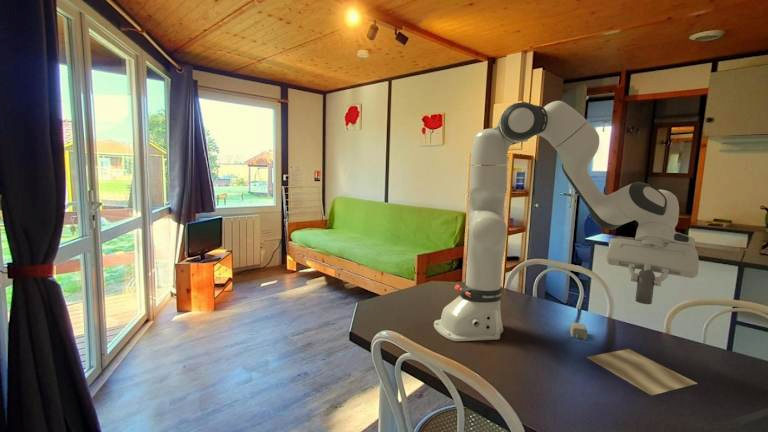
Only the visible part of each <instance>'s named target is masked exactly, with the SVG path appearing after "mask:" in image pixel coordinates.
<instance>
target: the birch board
mask: <svg viewBox="0 0 768 432" xmlns="http://www.w3.org/2000/svg"><path fill="white" fill-rule="evenodd" d="M586 358H587V359H588V360H590V361H592V362H594V363H596V364H597V365H599V366H600V367H602V368H604V369H605V370H607V371H609V372H610V373H612V374H614V375H616V376H617V377H619V378H620V379H622V380H623V381H626V382H628V383H629V384H630V385H632V386H634V387H637V389H639V390H641V391H643V392H644V393H647V394H648V395H650V396H655V395H659V394H663V393H666V392H670V391H674V390H678V389H683V388H686V387H690V386H693V385H698V384H699V383H698V382H695V381H694V380H692V379H690V378H688V377H686V376H683V374H680V373H678V372H676V371H674V370H672V369H670V368H668V367H665V366H664V365H662V364H660V363H658V362H656V361H655V360H651V359H650V358H648V357H645V356H644V355H642V354H640V353H638V352H636V351H634V350H632V349H630V348H626V349H621V350H616V351H611V352H605V353H600V354H596V355H590V356H586Z"/></svg>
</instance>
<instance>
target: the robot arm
mask: <svg viewBox="0 0 768 432" xmlns="http://www.w3.org/2000/svg"><path fill="white" fill-rule="evenodd" d="M535 136H539V137H542V138H544V139H545V140H546V141H547V142H548V143H549V144H550V145H551V146H552V147H553V148H554V149H555V150H556V152H557V153H558V155H559V157H560V159H561V162H562V163H561V169H562V172H563V174H564V176H565V177H566V179H567V180H568V182H569V184H570V185H571V186H572V187H573V189H574V191H575V192H576V193H577V195H578V196H579V198H580V199H581V200H582V202H583V204H584V205H585V207H586V208H587V210H588V212H589V214H590V216H591V219H592V220H593V221H594V223H596V224H597V225H598V226H599V227H601V228H603V229H605V230H609V231H610V230H616V229H618V228H619V227H621V226H623V225H625V224H627V223H631V222H633V221H635V222H637V223H638V226H637V228H636V233H635V237H627V236H622V235H617V236H613V237H611V238H610V239H609V241H608V249H607V250H606V254H605V259H606V263H607V264H608V265H609V266H616V267H622V268H627V269H628V271H629V274H630V275H631V276H630V281H631V282H634V283H637V281H638V274H639V273H637V272H636V273H635V271H636V270H640V271H641V270H643V269H644V264H651V271H652V272H653V273H659V274H660V275H659V276H655V279H654V287H656V286H657V287H662V282H663V281H665V280H666V279H667V278H669V276H670V275H671V276H676V277H683V278H689V279H693V278H696V277H698V275H699V267H700V265H699V261H700V260H699V253H698V250H697V248H696V241H695V238H694V237H693V236H689V235H686V234H683V233H680V232H677V231H676V227H677V225H678V223H679V217H680V216H679V215H680V205H679V204H680V203H679V200H678V198H677V196H676V195H675V194H674V193H672V192H671V191H669V190H665V189H658V188H656V187H654V186H653V185H650V184H649V183H647V182H646V183H645V182H642V181H635V182H633V183H630V184H628V185H625V186H623V187H621V188H620V189H617V190H616V191H614V192H612V193H610V194H604V193H602V192H601V190H600V189H599V188H598V186H597V184H596V183H595V182H594V180H593V179H592V177H591V176H590V174H589V165H590V164H591V161H592V160H593V158H594V157H595V155H596V154H597V153H598V150H599V147H600V135H599V133H598V131H597V130H596V128H594V126H593V125H592V123H590V122H589V121H588V119H586V118H585V117H584V116H583V115H582V114H581V113H579V112H578V111H577V110H576V109H574V107H572V106H570V105H569V104H568V103H566V102H564V101H562V100H555V101H551V102H550V103H547V104H546V105H544V106H541V105H537V104H536V105H535V104H534V103H533V104H532V103H529V102H524V101H523V102H516V103H513V104H511V105H509V106H508V107H507V108H505V110H504V111H503V112H502V114H501V116H500V118H499V120H498V123H497V125H496V126H495V127H493V128H485V129H482V130H480V131H477V133H476V134H475V135H474V137H473V140H472V141H473V142H472V146H471V152H470V163H469V164H470V166H469V195H468V196H469V199H468V200H469V201H468V241H467V242H468V243H467V256H466V269H465V270H466V272H465V283H464V284H463V286H461V285H460V284H456V285H455V286H454V290H455V291H456V292H458V293H459V295H458V296H457V297H456V298H455V299H454V300H452V301H451V302H450V303H447V305H445V306H444V308H443V310H442V312H441V317H440V319H436V320H434V322H433V327H434V329H435V330H436V331H437V333H438V334H440V335H441V336H443V337H444V338H446V339H448V340H449V341H453V342H471V341H473V342H474V341H491V340H492V341H493V340H500V339H501V334H502V333H503V332H504V327H503V323H502V322H503V321H502V315H501V300H502V295H503V291H502V290H503V288H502V287H503V286H501V285H502V274H503V273H502V272H503V261H504V255H505V249H506V242H507V241H506V240H507V231H508V230H507V228H508V227H507V223H506V222H505V220H504V210H505V202H506V201H505V199H506V193H507V181H508V179H507V175H508V173H507V172H508V153H509V150H510V147H511V146H513V145H516V144H519V143H523V142H526V141H529V140H530V139H531V138H533V137H535Z"/></svg>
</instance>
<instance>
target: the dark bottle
mask: <svg viewBox="0 0 768 432" xmlns="http://www.w3.org/2000/svg"><path fill="white" fill-rule="evenodd" d="M637 274H638V281H637V282H636V290H635V302H637V303H639V304H643V305H652V304H653V296H654V287H655V285H654V279H655V277H656V276H655V275H656V274H655V272H652V271H651V264H644V269H643V270H640V271H638V273H637Z"/></svg>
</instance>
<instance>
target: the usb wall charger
mask: <svg viewBox="0 0 768 432" xmlns="http://www.w3.org/2000/svg"><path fill="white" fill-rule="evenodd" d="M569 331H570V335H571V337H573V338H576V339H579V338H580V339H584V340H587V339H588V329H587V327H586V325H585V323H578V322H570V330H569Z"/></svg>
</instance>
